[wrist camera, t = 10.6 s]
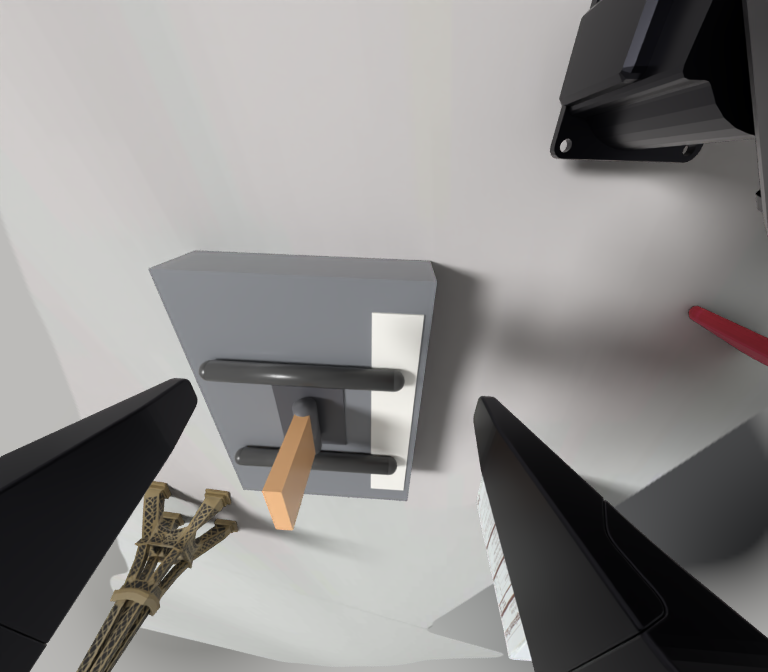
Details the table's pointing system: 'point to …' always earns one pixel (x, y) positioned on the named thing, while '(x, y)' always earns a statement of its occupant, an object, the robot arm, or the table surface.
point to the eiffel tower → (155, 547)
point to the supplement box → (502, 582)
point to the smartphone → (732, 333)
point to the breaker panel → (308, 359)
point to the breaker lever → (293, 465)
